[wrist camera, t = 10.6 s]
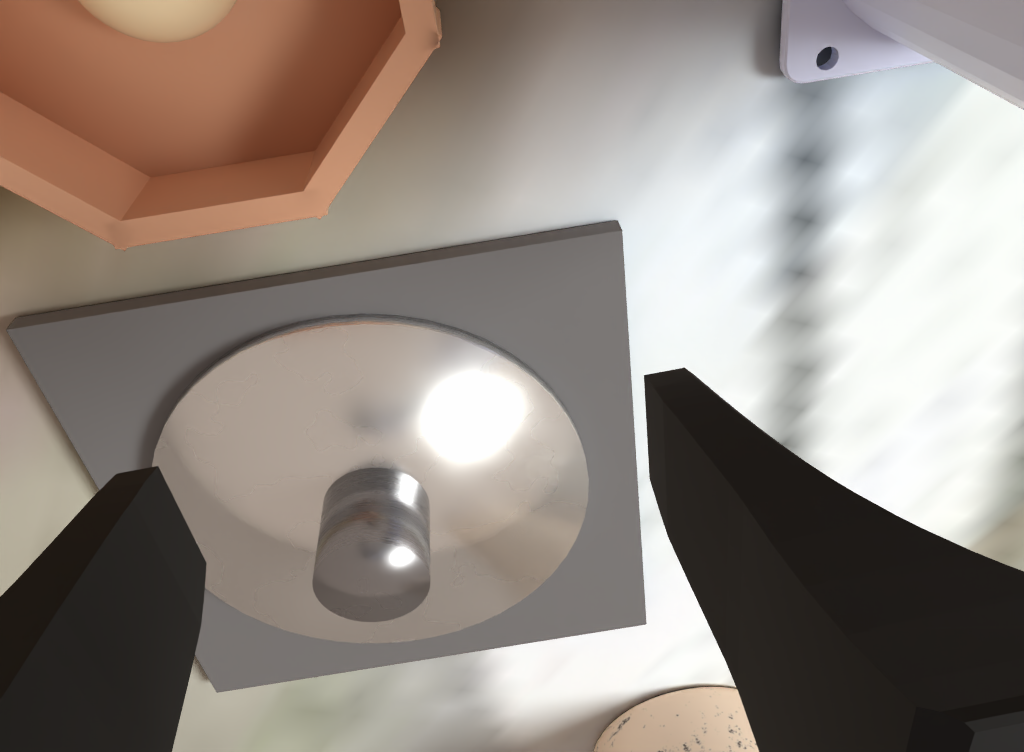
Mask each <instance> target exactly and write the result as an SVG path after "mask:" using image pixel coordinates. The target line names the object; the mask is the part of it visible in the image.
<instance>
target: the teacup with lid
mask: <svg viewBox="0 0 1024 752" xmlns="http://www.w3.org/2000/svg"><path fill="white" fill-rule="evenodd" d="M594 752H759V750H758V747H757V744H756V741H755V738H754V735H753V733H752V730H751V727H750V724H749V721H748V718H747V715H746V712H745V710H744V707H743V704H742V701H741V698H740V695H739V692H738V690H737V689H733V688H724V687H700V688H691V689H685V690H679V691H675V692H671V693H667V694H664V695H660V696H658V697H655V698H652V699H650V700H647V701H645V702H643V703H641V704H639V705H637V706H635V707H633V708H631V709H630V710H628V711H626V712H625V713H624V714H622V715H621V716H619V717H618V718H617V719H616V720H614V721H613V722H612V723H611V724H610V725H609V726H608V727H607V728H606V729H605V731H604V732H603V733H602V735H601V736H600V738H599V739H598V741H597V743H596V745H595V749H594Z"/></svg>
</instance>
